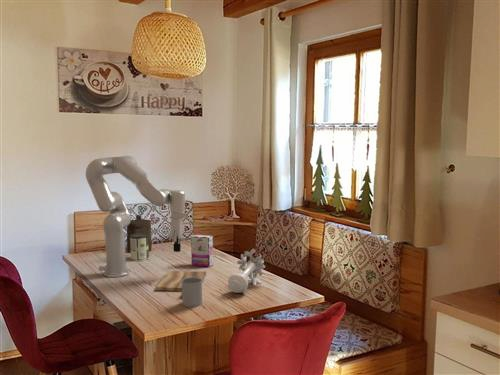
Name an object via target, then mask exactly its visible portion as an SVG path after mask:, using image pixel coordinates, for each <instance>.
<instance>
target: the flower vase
mask: <svg viewBox="0 0 500 375" xmlns="http://www.w3.org/2000/svg"><path fill="white" fill-rule="evenodd" d="M256 251H257V249H255V248H252V249H251V250H249V251H248V250H245V251H243V254H240V259H239V260H237V262H236V264H237V265H239V267H238V270H242V272H241V273H237V272H235V273H233V274H231V275H230V276H229V277H228V281H227V282H228V284H227V285H228V287H229V288H228V289H229V290H230V291H231V292H232V293H235V294H237V293H238V294H239V293H241V294H242V293H245V291H246V290H247V289H248V287H249V284H251V283H252V285H253V286H256V285H257V283H259V284H263V283H262V281H259V279H257V277H258V275H260V276H262V275H263V271H262V270H264V269H265V268H266V265H264V263H265V261H264V259H263V258H262V254H261V253H259V256H256V257H255V258H254V256H253V254H254V253H255V252H256ZM247 257H249V260H247Z"/></svg>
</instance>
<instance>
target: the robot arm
mask: <svg viewBox="0 0 500 375" xmlns="http://www.w3.org/2000/svg"><path fill="white" fill-rule="evenodd" d="M112 174H120V175H121V176H122V177H124V178H125V179H126V180H127V181H129V182H130V183H131V184H132V185H134V187H135V188H136V189H137V191H138V192H139V194H140V195H141V196H142V197H143V198H144V199H145V200H147V201H148V202H150V204H152V205H154V206H157V207H162V206H164V205H166V204H167V205H168V204H169V219H170V228H169V229H170V235H169V239H173V252H174V253H176V252H177V253H180V252H181V247H182V246H181V244H182V243H181V241H182V240H181V238H182V236H183V233H184V232H183V231H184V219H185V218H186V192H185V191H184V190H182V189H179V190H178V189H175V190H173V189H168V188H167V189H166V188H162V189H158V188H157V187H155V186H154V185H153V184H152V183H151V182H150V180H149V179H148V174H147V172H146V171H144V169H142V168H141V167H140V166H138V162H137V160H136V159H135V157H133V156H131V155H122V156H112V157H111V156H110V157H100V158H99V157H98V158H95V159H94V160H92V161H90V162H89V164H88V165H87V166H86V170H85V179H86V182H87V183H88V186H89V188H90V190H91V193H92V195H93V198H94V200H95V202H96V205H97V207H98V209H99V210H100V211H101V212H103V213H109V214H108V215H107V216H105V218H104V219H103V222H102V225H103V226H102V227H103V232H104V238H105V240H104V241H105V256H106V258H105V259H106V263H105V264H106V265H104V266H103V265H99V266H98V270H99V271H100V272H101V271H104V272H103V276H104V277H106V276H107V277H106V278H120V277H124V276H127V275H129V274H130V271H129V269H127V268H126V267H127V265H126V264H127V263H126V262H127V261H126V240H125V239H126V238H125V235H124V229H125V228H126V229H127V226H128V225H129V224H130V220H131V215H130V212H129V210H128V208H127V206H126V203H125V200H124V199H123V197H122V196H121V194H120V193H119V192H116V191H111V189H110V187H109V184H108V182H107V181H106V179H105V178H104V175H112Z"/></svg>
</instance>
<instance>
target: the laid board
mask: <svg viewBox="0 0 500 375" xmlns="http://www.w3.org/2000/svg"><path fill="white" fill-rule="evenodd" d="M206 275H207V271H204V270H203V271H199V270H198V271H197V270H196V271H192V270H191V271H190V270H189V271H188V270H187V271H186V273H185V275H184V276H183V278H182V280H183V279H186V278H200V279H202V283H203V282H204V281H205V280H204V279H205V277H206ZM182 280H181V281H180V283H179V285H178V286H177V290H176V292H182Z"/></svg>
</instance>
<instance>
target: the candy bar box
mask: <svg viewBox="0 0 500 375" xmlns="http://www.w3.org/2000/svg"><path fill="white" fill-rule="evenodd" d="M213 238H214V236H213V235H203V234H194V235H190V250H191V255H190V256H191V266H194V267H204V268H206V267H207V268H210V267H213V266H214V243H213V242H214V239H213Z"/></svg>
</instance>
